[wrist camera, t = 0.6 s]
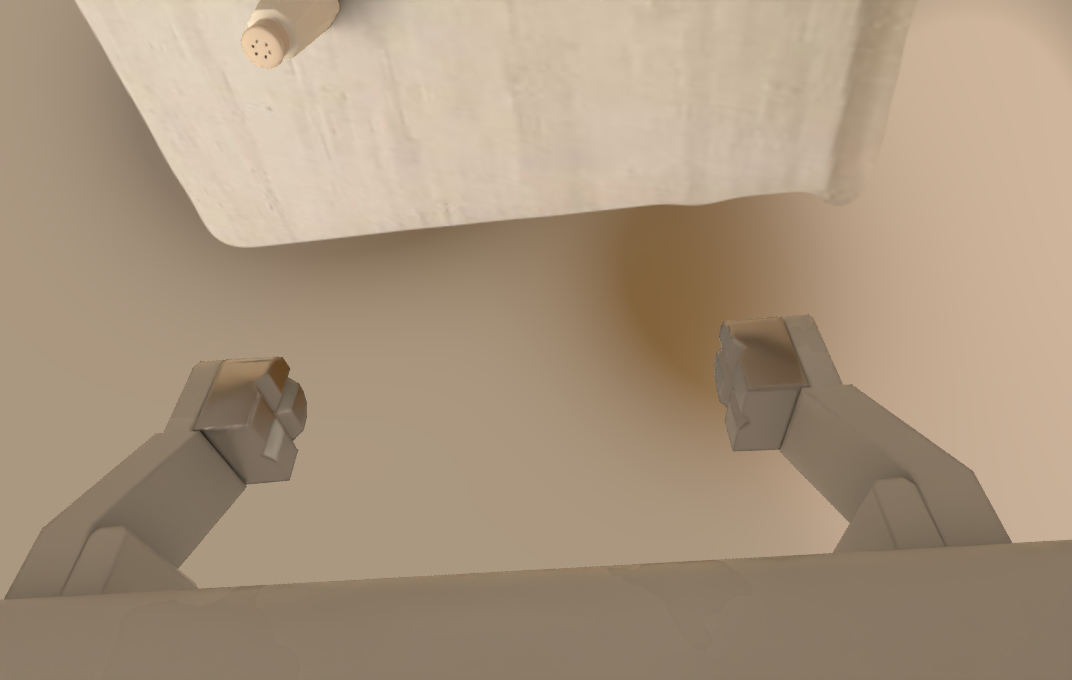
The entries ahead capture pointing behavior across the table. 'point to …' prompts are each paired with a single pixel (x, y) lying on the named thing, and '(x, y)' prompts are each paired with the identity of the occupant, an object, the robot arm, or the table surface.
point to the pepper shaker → (285, 28)
